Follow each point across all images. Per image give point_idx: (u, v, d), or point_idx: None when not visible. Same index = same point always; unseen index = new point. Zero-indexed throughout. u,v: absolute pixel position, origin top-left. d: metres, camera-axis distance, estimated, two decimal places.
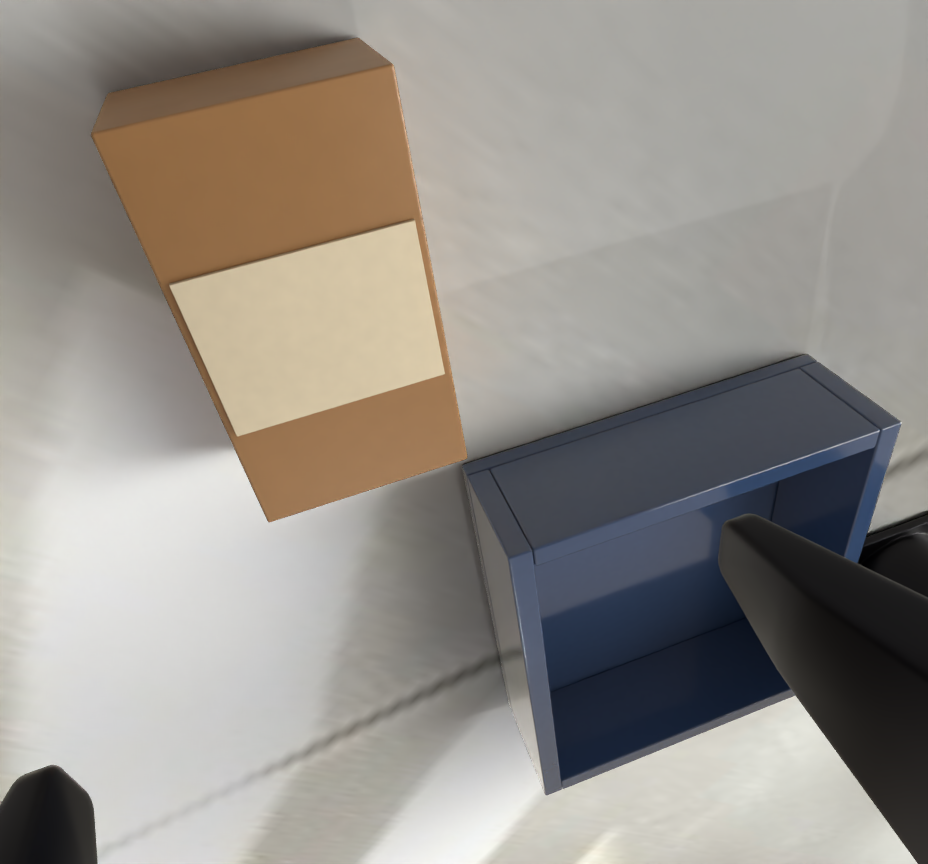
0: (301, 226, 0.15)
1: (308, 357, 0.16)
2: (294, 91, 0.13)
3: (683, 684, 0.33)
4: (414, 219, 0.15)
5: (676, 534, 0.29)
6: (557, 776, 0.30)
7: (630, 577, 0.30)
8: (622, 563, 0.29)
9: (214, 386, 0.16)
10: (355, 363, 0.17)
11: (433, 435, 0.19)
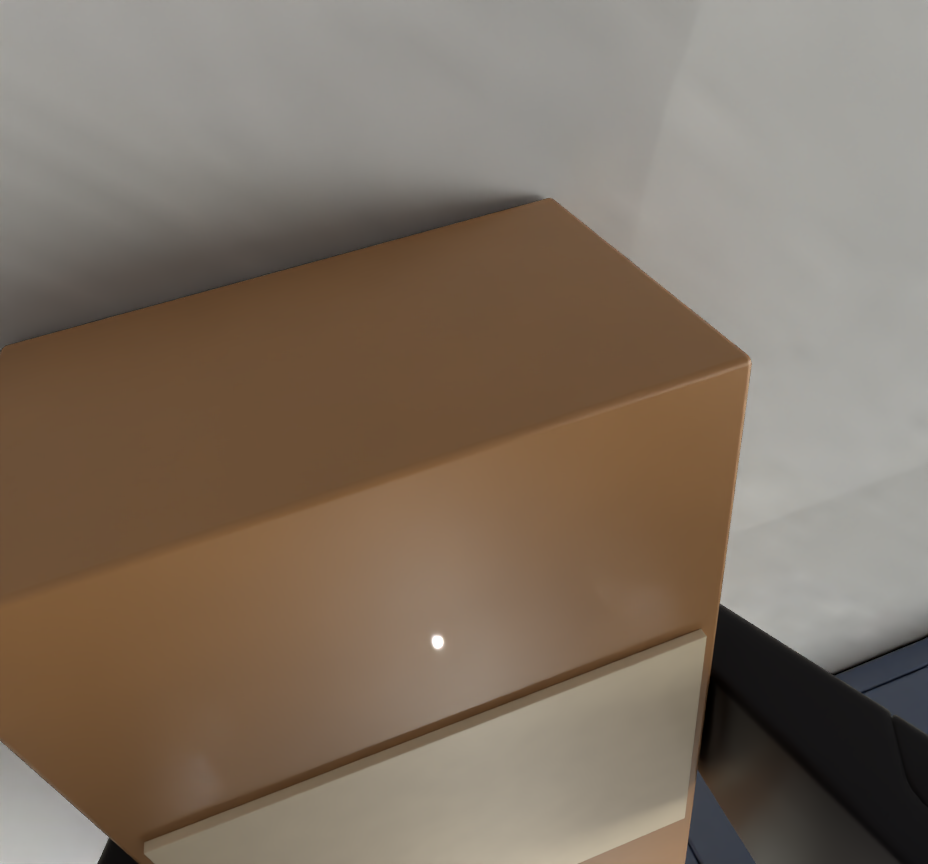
0: (461, 690, 0.06)
1: (441, 856, 0.08)
2: (488, 453, 0.05)
3: None
4: (702, 630, 0.07)
5: None
6: None
7: None
8: None
9: None
10: (527, 842, 0.08)
11: None
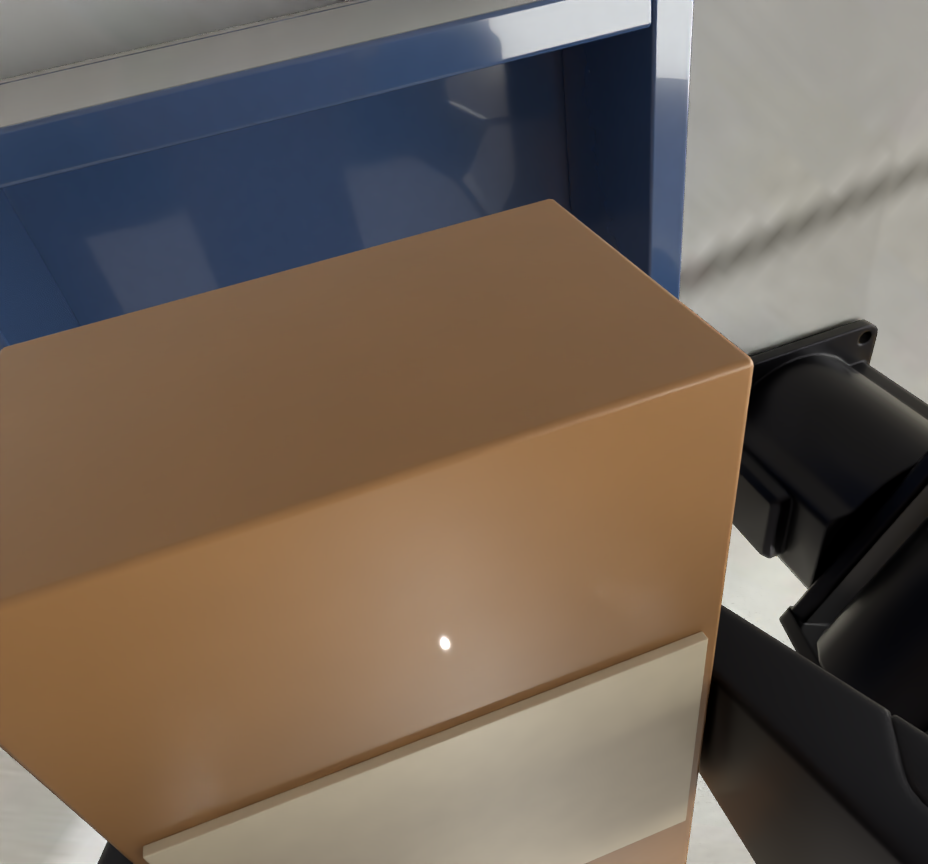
0: (462, 693, 0.06)
1: (441, 860, 0.08)
2: (490, 456, 0.05)
3: None
4: (704, 632, 0.07)
5: None
6: None
7: None
8: None
9: None
10: (527, 844, 0.08)
11: None
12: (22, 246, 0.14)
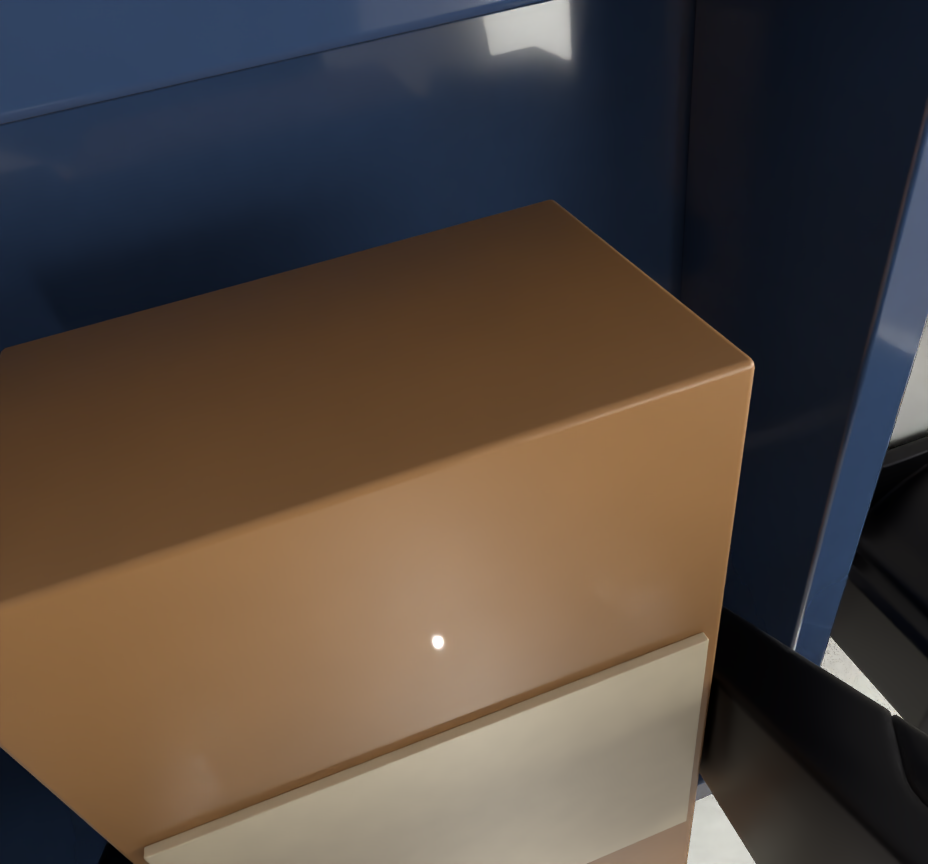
0: (464, 694, 0.06)
1: (443, 861, 0.08)
2: (491, 458, 0.05)
3: None
4: (705, 633, 0.07)
5: None
6: None
7: None
8: None
9: None
10: (528, 845, 0.08)
11: None
12: None
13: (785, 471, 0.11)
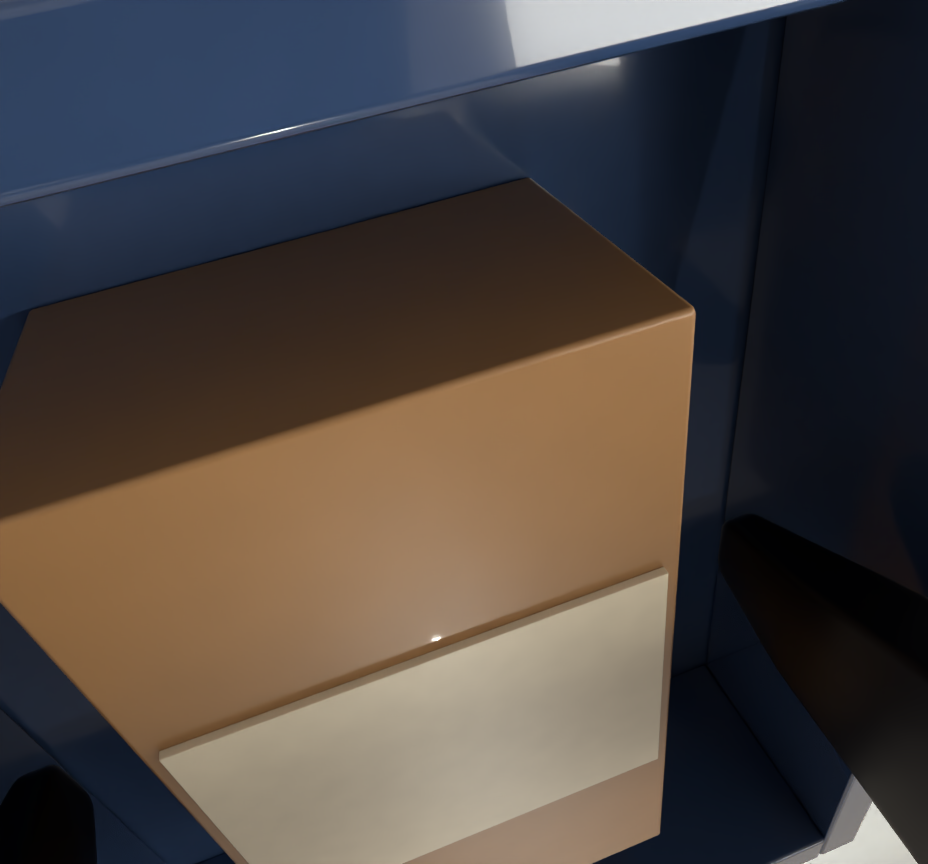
0: (445, 616, 0.07)
1: (429, 785, 0.09)
2: (464, 390, 0.05)
3: None
4: (665, 567, 0.07)
5: None
6: None
7: None
8: None
9: None
10: (509, 775, 0.09)
11: (616, 824, 0.11)
12: None
13: (874, 550, 0.09)
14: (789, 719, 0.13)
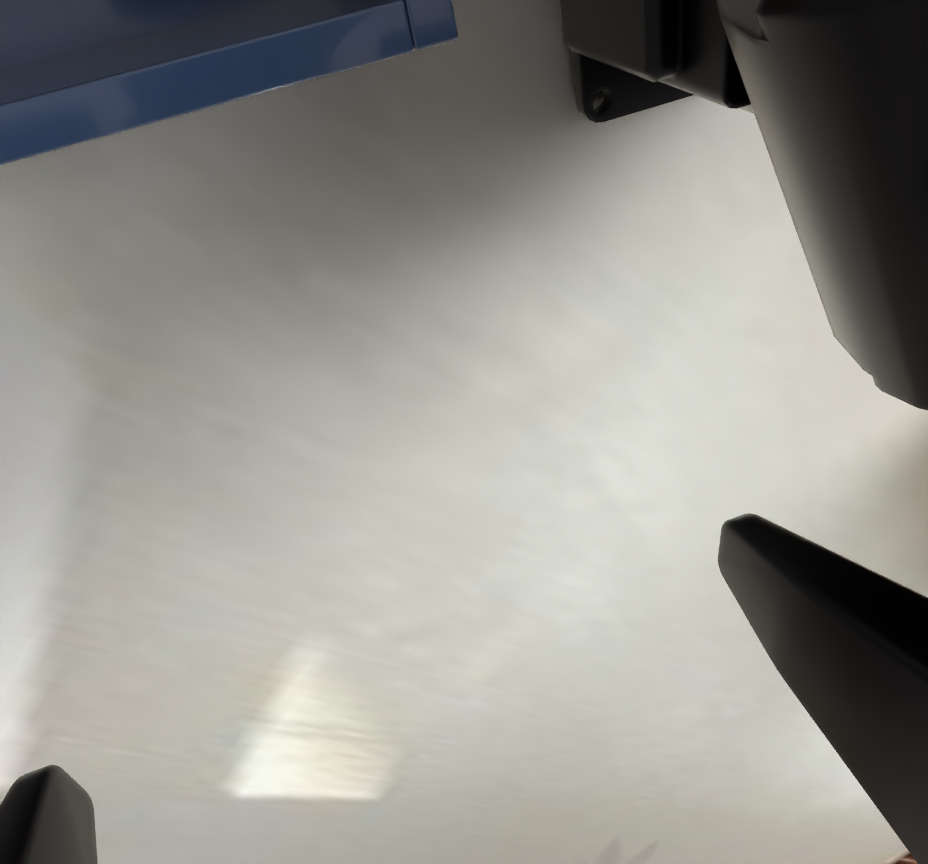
0: None
1: None
2: None
3: (102, 58, 0.12)
4: None
5: None
6: None
7: None
8: None
9: None
10: None
11: None
12: None
13: None
14: None
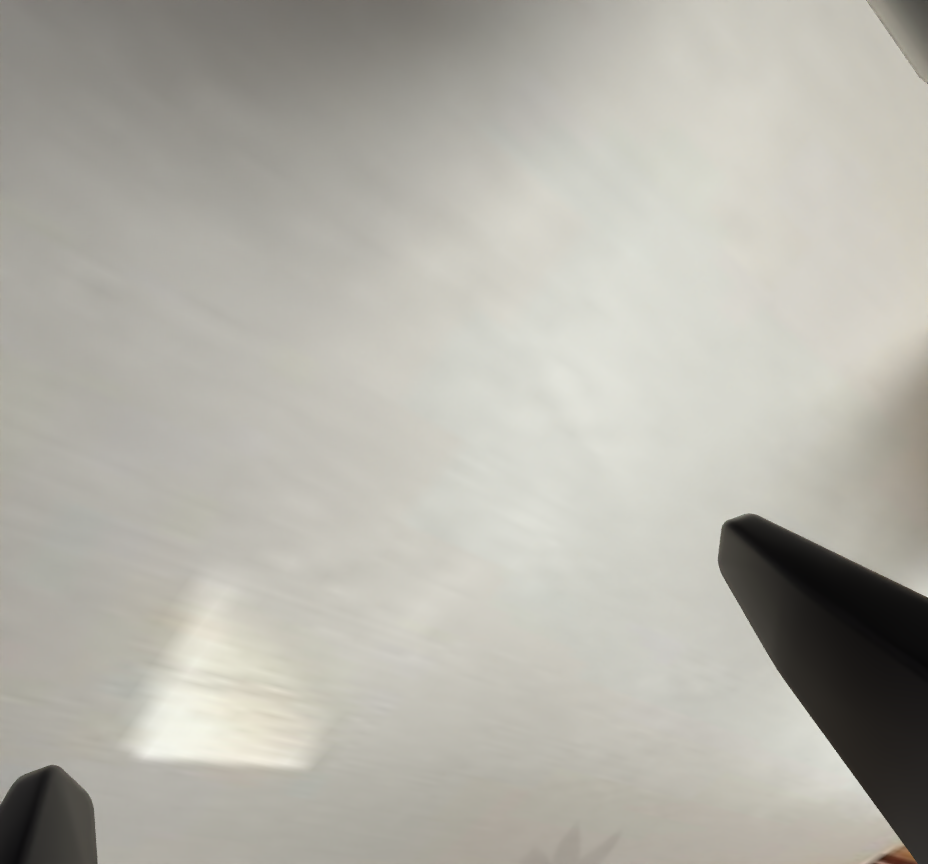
0: None
1: None
2: None
3: None
4: None
5: None
6: None
7: None
8: None
9: None
10: None
11: None
12: None
13: None
14: None
